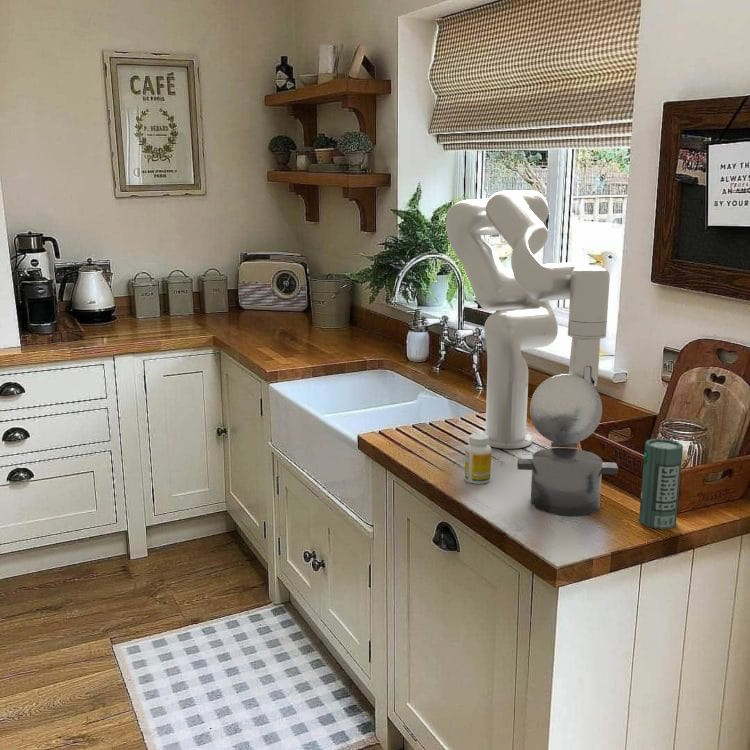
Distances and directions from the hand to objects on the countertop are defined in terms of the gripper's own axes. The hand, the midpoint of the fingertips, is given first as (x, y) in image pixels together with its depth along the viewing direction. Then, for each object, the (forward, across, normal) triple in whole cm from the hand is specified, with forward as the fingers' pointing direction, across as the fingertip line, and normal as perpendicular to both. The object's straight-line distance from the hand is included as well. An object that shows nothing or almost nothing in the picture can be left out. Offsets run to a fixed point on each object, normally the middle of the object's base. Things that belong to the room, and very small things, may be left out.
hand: (582, 415), depth 171 cm
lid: (-3, +8, -4) cm, 9 cm away
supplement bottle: (+13, +5, -21) cm, 26 cm away
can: (+13, +22, +12) cm, 29 cm away
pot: (+13, +16, -4) cm, 21 cm away
